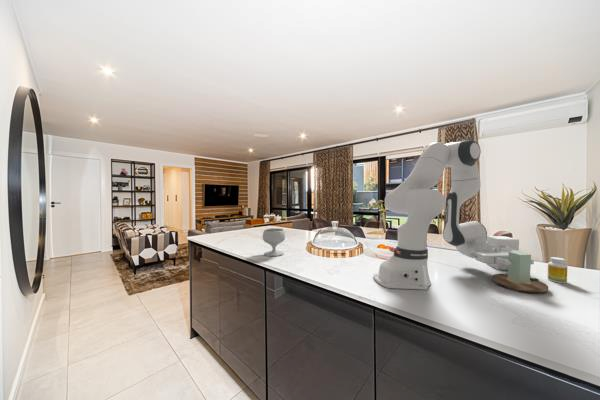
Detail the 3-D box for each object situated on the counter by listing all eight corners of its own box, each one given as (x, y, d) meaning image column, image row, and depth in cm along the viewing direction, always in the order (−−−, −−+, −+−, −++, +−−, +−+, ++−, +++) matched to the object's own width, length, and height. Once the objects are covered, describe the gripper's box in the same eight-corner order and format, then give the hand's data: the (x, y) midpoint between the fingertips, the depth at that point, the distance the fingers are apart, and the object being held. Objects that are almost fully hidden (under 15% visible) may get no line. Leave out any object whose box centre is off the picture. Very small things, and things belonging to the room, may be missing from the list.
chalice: (258, 253, 139) (258, 229, 138) (276, 250, 148) (276, 227, 148) (271, 258, 129) (271, 232, 128) (290, 254, 138) (289, 229, 138)
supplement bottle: (546, 277, 97) (547, 255, 97) (565, 280, 94) (565, 258, 94) (548, 281, 93) (549, 258, 93) (568, 284, 90) (569, 261, 90)
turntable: (521, 293, 80) (521, 288, 80) (481, 276, 96) (481, 272, 96) (561, 291, 82) (561, 286, 82) (516, 275, 98) (516, 271, 98)
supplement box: (519, 271, 106) (520, 239, 105) (497, 269, 108) (498, 238, 107) (505, 265, 115) (506, 236, 114) (485, 264, 116) (486, 235, 116)
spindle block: (519, 282, 87) (520, 254, 86) (507, 278, 91) (508, 251, 91) (529, 282, 87) (531, 254, 86) (517, 278, 91) (518, 251, 91)
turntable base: (520, 293, 82) (520, 291, 82) (488, 280, 95) (488, 278, 95) (552, 292, 83) (552, 290, 83) (516, 278, 96) (516, 277, 96)
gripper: (467, 247, 101) (496, 255, 87) (509, 246, 102) (544, 254, 89) (467, 260, 101) (496, 271, 87) (509, 259, 103) (544, 269, 89)
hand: (521, 262), depth 88 cm, fingers open, 8 cm apart
